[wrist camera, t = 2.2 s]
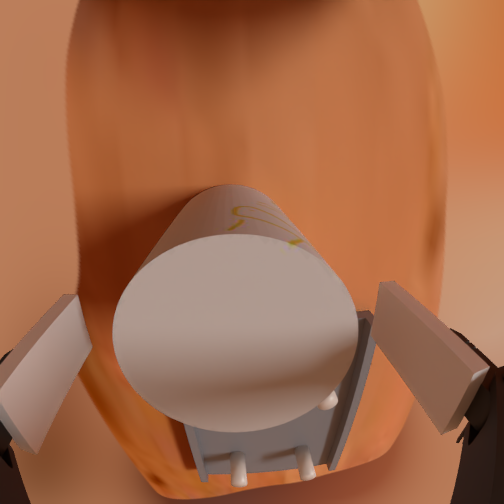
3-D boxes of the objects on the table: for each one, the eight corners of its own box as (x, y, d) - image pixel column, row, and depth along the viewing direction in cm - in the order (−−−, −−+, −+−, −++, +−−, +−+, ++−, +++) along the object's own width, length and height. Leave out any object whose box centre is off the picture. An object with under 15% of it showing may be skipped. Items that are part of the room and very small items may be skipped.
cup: (307, 268, 22) (378, 381, 10) (207, 314, 22) (197, 449, 11) (259, 163, 19) (305, 181, 8) (150, 220, 20) (67, 306, 8)
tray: (168, 322, 22) (156, 363, 17) (369, 310, 23) (396, 344, 19) (201, 467, 29) (201, 500, 25) (330, 456, 30) (340, 487, 26)
